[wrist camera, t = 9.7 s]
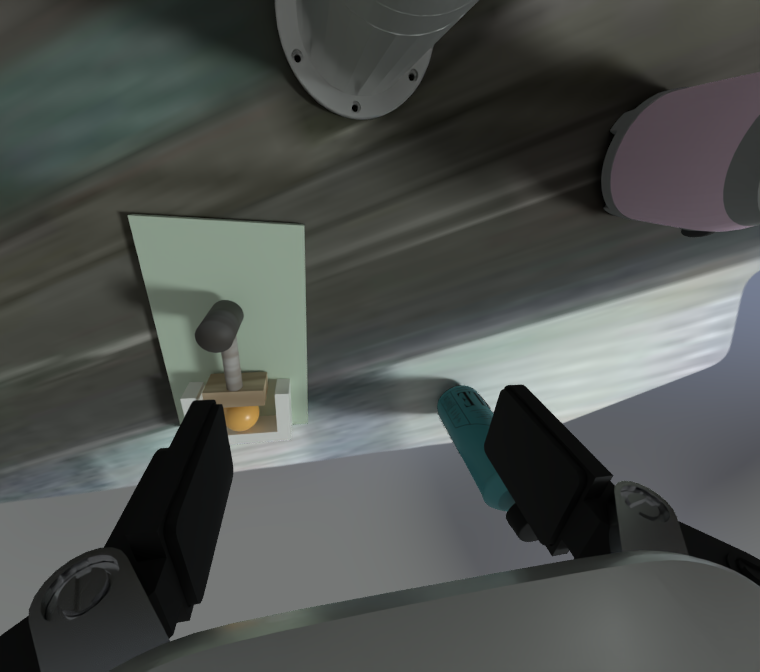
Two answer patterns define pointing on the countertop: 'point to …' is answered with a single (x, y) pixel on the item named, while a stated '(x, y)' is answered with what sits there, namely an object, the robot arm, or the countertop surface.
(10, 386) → the countertop surface
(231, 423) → the ball
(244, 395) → the rod
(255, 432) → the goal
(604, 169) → the blender
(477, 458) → the beverage bottle
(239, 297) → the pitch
